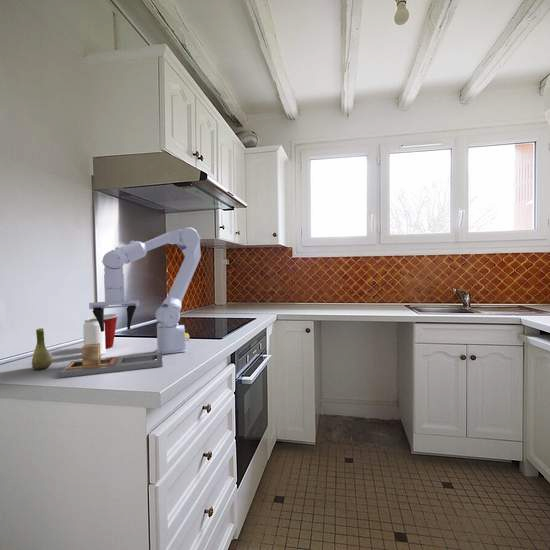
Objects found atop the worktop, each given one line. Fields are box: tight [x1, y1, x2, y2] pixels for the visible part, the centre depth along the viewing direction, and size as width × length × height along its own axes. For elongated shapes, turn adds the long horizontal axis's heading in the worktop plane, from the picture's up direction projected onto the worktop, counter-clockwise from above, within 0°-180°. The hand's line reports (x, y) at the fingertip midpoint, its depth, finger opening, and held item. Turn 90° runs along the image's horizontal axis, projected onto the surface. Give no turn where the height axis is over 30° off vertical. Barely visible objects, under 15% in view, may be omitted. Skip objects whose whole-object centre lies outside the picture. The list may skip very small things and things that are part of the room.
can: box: [82, 319, 107, 356], centre depth 115 cm, size 6×6×12 cm
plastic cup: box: [86, 313, 119, 349], centre depth 125 cm, size 11×11×12 cm
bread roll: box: [185, 332, 190, 342], centre depth 136 cm, size 8×9×4 cm
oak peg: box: [81, 343, 102, 366], centre depth 97 cm, size 4×4×7 cm
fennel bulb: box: [31, 327, 53, 370], centre depth 100 cm, size 6×5×12 cm
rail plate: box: [59, 352, 164, 379], centre depth 100 cm, size 26×12×2 cm, turn 109°
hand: (115, 330), depth 108 cm, fingers open, 7 cm apart
